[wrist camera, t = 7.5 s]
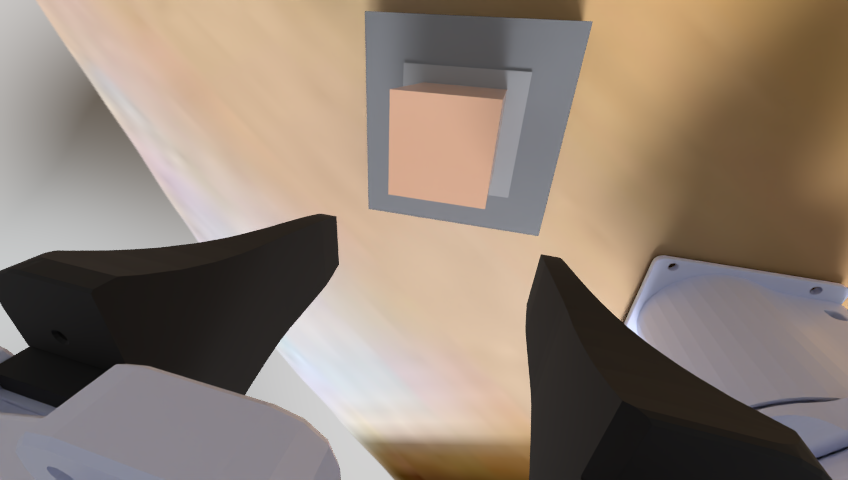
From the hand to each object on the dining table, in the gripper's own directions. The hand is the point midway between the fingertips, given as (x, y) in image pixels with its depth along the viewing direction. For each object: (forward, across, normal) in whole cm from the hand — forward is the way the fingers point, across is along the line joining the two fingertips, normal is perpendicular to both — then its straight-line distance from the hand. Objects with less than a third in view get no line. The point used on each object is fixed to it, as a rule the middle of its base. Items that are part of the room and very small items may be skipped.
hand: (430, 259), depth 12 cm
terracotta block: (+8, +1, -3) cm, 8 cm away
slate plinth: (+10, +1, -3) cm, 11 cm away
